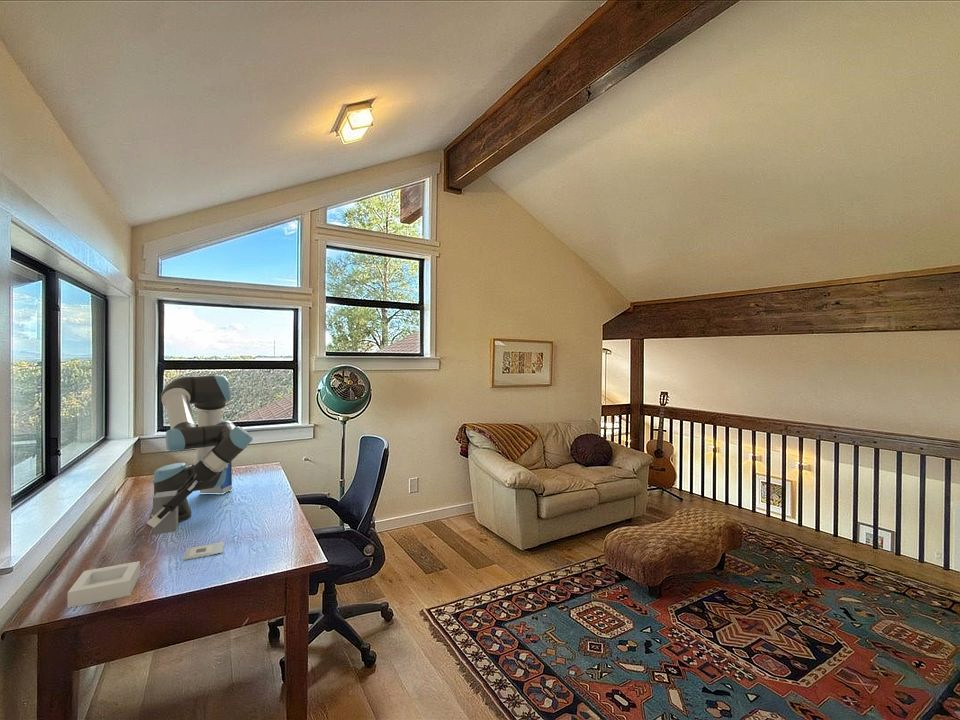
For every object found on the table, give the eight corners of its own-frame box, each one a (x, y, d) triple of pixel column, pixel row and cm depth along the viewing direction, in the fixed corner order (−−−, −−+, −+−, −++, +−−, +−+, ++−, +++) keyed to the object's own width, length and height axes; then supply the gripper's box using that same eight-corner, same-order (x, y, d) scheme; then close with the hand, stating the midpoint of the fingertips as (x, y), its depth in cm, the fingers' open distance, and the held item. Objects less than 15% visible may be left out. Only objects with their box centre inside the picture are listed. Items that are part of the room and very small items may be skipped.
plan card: (186, 549, 161) (186, 547, 161) (224, 542, 167) (224, 541, 167) (182, 560, 152) (182, 558, 152) (222, 553, 158) (222, 551, 158)
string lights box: (232, 490, 230) (232, 442, 230) (222, 495, 223) (222, 445, 222) (209, 490, 232) (208, 441, 231) (198, 494, 224) (198, 444, 224)
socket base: (84, 585, 136) (84, 570, 136) (140, 574, 143) (140, 561, 143) (67, 608, 124) (67, 592, 124) (129, 595, 130) (129, 580, 130)
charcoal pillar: (156, 528, 147) (156, 492, 147) (178, 524, 150) (178, 490, 149) (153, 534, 141) (152, 498, 141) (175, 531, 144) (175, 495, 144)
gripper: (217, 480, 144) (157, 539, 137) (221, 466, 161) (167, 518, 153) (198, 465, 141) (135, 525, 134) (203, 453, 158) (148, 505, 151)
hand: (152, 521), depth 144 cm, fingers closed on charcoal pillar, 6 cm apart
